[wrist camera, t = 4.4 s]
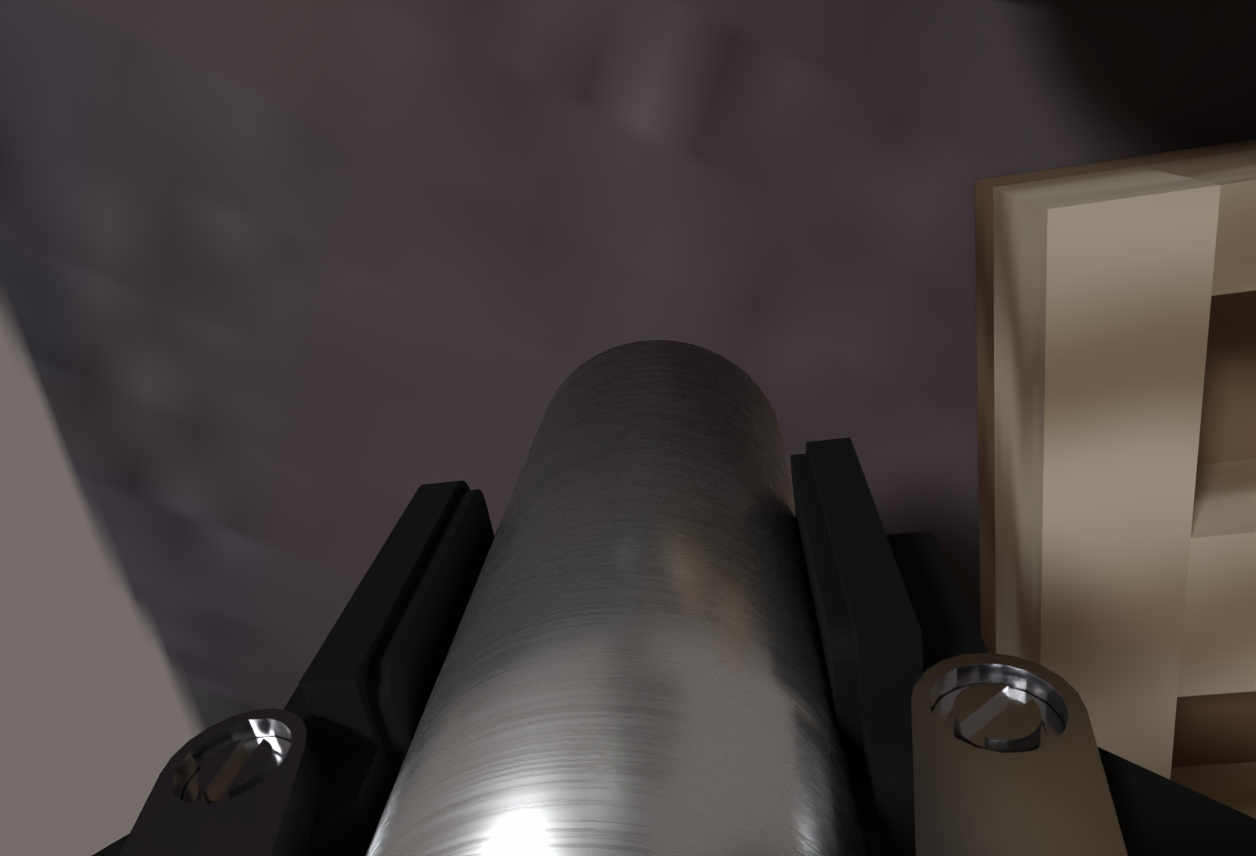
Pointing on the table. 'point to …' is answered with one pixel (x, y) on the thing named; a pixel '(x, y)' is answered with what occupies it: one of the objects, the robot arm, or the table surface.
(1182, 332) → the socket block
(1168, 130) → the table surface
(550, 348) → the table surface
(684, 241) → the table surface
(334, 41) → the table surface
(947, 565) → the robot arm
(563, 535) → the pin
